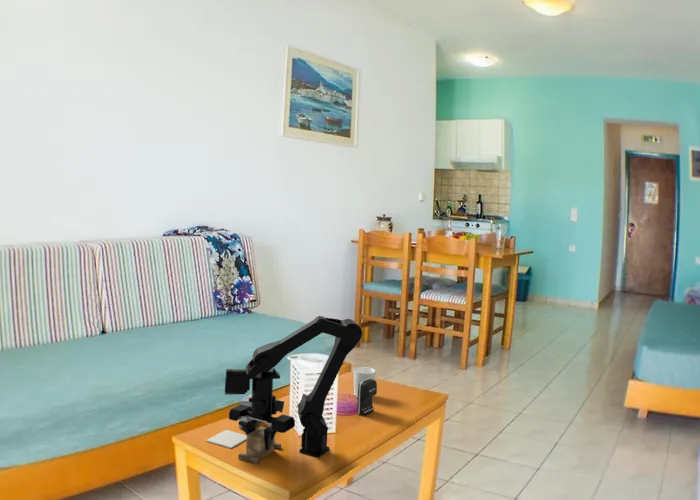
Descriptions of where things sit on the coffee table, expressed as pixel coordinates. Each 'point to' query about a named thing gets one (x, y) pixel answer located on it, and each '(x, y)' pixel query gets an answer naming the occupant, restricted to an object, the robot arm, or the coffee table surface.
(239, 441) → the plate
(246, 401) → the medicine box
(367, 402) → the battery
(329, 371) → the robot arm
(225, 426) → the coffee table surface
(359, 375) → the white cup
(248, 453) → the block
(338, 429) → the coffee table surface
